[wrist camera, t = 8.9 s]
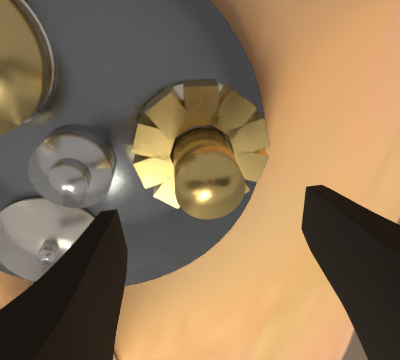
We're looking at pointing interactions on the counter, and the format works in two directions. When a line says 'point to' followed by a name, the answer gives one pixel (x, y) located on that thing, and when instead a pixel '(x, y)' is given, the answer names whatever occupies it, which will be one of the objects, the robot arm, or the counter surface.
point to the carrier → (101, 124)
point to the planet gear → (200, 147)
